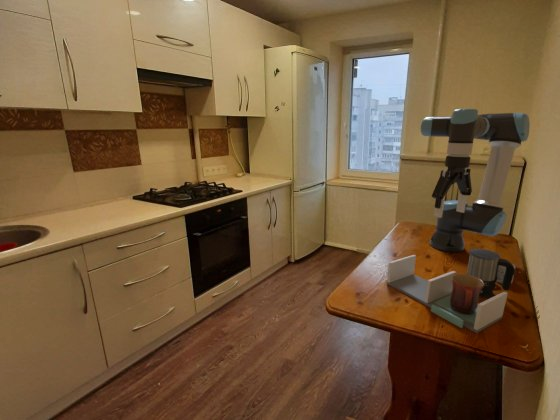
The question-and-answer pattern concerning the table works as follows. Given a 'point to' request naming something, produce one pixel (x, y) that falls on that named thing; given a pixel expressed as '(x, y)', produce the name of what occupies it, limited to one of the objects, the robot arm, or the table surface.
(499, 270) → the mug
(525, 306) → the table surface
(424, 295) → the rack
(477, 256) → the milk frother
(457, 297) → the mug
